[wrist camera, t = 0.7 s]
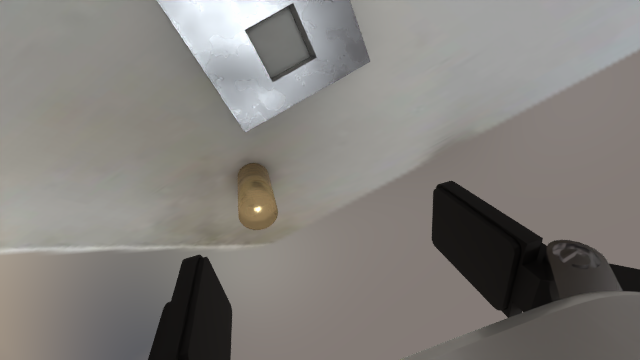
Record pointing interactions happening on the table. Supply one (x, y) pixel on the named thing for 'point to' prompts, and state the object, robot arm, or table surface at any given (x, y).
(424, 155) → the table surface
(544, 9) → the table surface
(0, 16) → the table surface
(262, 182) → the tan cylinder
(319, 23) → the plate
